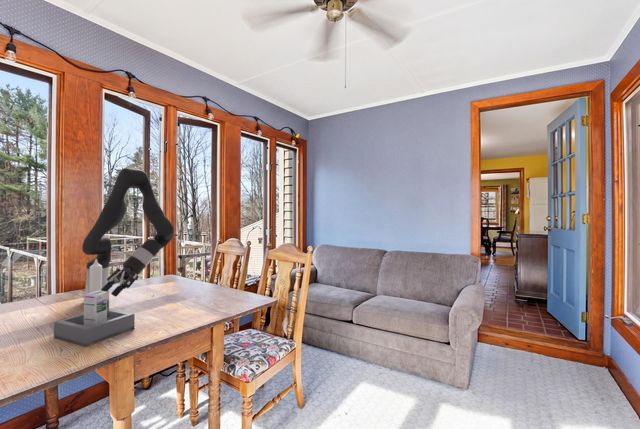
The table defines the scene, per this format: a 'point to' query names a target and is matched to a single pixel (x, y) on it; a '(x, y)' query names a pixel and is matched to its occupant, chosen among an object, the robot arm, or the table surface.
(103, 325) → the box
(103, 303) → the syrup box
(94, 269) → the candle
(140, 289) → the table surface
